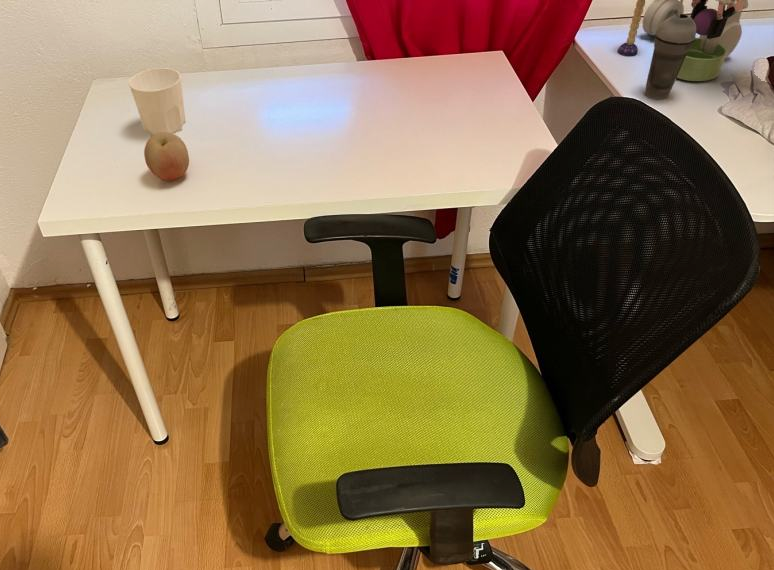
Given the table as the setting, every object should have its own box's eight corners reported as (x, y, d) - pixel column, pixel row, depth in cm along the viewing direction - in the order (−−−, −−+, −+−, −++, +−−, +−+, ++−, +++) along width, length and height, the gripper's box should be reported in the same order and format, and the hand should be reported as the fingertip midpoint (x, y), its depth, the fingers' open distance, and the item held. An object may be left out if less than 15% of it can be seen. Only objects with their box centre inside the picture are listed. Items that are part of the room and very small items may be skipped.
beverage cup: (662, 106, 137) (698, 0, 122) (630, 94, 141) (661, -10, 126) (682, 94, 140) (719, -11, 125) (650, 82, 144) (682, -20, 129)
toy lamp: (612, 49, 156) (633, -31, 144) (630, 45, 156) (653, -34, 144) (624, 57, 152) (647, -24, 140) (642, 54, 153) (667, -27, 141)
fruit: (148, 189, 124) (137, 150, 118) (151, 166, 130) (142, 127, 124) (191, 185, 124) (183, 146, 119) (193, 162, 130) (185, 123, 124)
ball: (720, 36, 140) (730, 11, 136) (701, 41, 139) (710, 15, 135) (703, 27, 143) (712, 2, 139) (683, 32, 142) (692, 7, 138)
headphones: (734, 58, 149) (772, -39, 135) (706, 67, 147) (743, -30, 133) (662, 28, 162) (691, -64, 148) (636, 36, 159) (662, -56, 145)
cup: (131, 126, 141) (119, 79, 134) (173, 109, 145) (163, 63, 138) (156, 144, 135) (145, 96, 128) (198, 126, 139) (190, 79, 132)
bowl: (729, 76, 144) (739, 53, 140) (687, 87, 141) (696, 63, 138) (692, 56, 151) (700, 33, 147) (651, 66, 149) (658, 43, 145)
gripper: (792, -58, 123) (749, 44, 136) (721, -82, 134) (688, 14, 147) (759, -51, 121) (719, 51, 134) (690, -76, 132) (659, 21, 145)
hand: (703, 31), depth 140 cm, fingers closed on ball, 4 cm apart
